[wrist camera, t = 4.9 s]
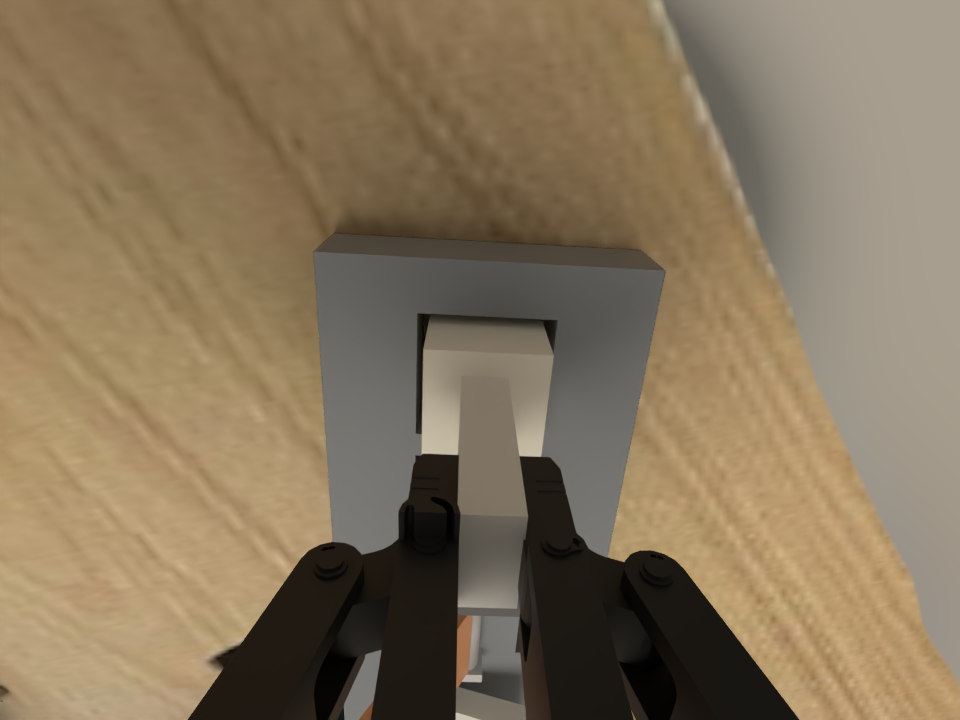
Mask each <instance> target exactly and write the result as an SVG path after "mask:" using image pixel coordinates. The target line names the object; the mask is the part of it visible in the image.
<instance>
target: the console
mask: <svg viewBox="0 0 960 720" xmlns="http://www.w3.org/2000/svg"><path fill="white" fill-rule="evenodd" d="M313 255H314V269H315V284H316V299H317V314H318V329H319V344H320V359H321V374H322V388H323V403H324V418H325V433H326V448H327V463H328V478H329V493H330V507H331V522H332V537H333V542H340V543H347V544H349V545H352V546H354V547H355V548H356V549H357V550H358V551H359V552H360V553H361V555H362V554H367V553H371V552H375V551H378V550H382V549H384V548H386V547H388V546H390V545H391V544H393V543H394V542H395V541H396V540H397V539H398V538H399V526H398V511H399V509H400V507H401V505H402V504H403V503H404V502H405V501H406V500H407V499H408V497H409V490H410V484H411V478H412V471H413V464H414V463H415V462H416V461H417V460H418V459H419V457H420V456H421V454H422V361H423V313H424V314H443V315H463V316H483V317H503V318H523V319H543V320H544V328H545V331H546V334H547V337H548V340H549V343H550V346H551V349H552V351H553V354H554V359H553V367H552V375H551V383H550V391H549V399H548V406H547V414H546V422H545V430H544V438H543V446H542V454H541V457H550V458H551V459H552V460H553V461H554V462H555V463H556V464H557V466H558V467H559V468H560V469H561V473H562V477H563V481H564V482H563V484H564V485H565V489H566V494H567V497H568V501H569V505H570V509H571V513H572V517H573V521H574V525H575V529H576V533H577V534H578V535H580V536H581V537H582V538H583V539H584V541H585V543H586V545H587V546H588V548H589V549H590V550H592V551H593V552H595V553H597V554H599V555H602V556H604V557H608V552H609V547H610V542H611V537H612V532H613V527H614V522H615V517H616V513H617V508H618V503H619V498H620V493H621V488H622V483H623V478H624V473H625V468H626V463H627V458H628V453H629V448H630V443H631V439H632V434H633V429H634V424H635V419H636V414H637V409H638V404H639V399H640V394H641V389H642V384H643V379H644V374H645V370H646V365H647V360H648V355H649V350H650V345H651V340H652V335H653V330H654V325H655V320H656V315H657V310H658V305H659V301H660V296H661V291H662V286H663V281H664V276H665V270H664V269H663V268H662V267H660V266H659V265H658V264H657V263H656V262H654V261H653V260H652V259H651V258H650V257H649V256H647V255H646V254H645V253H644V252H643V251H641V250H627V249H609V248H591V247H573V246H555V245H537V244H519V243H501V242H483V241H465V240H447V239H429V238H411V237H392V236H374V235H356V234H338V233H333V234H332V235H331V236H330V237H329V238H328V239H327V240H326V241H325V242H323V243H322V244H321V245H320V246H319V247H318V248H317V249H316V250H315V251H314V252H313ZM519 618H520V617H502V616H482V618H481V630H480V642H479V654H478V663H477V665H476V666H475V667H474V668H473V669H472V670H469V671H468V673H467V674H466V676H465V677H464V679H463V680H462V682H461V684H460V685H459V687H460V688H463V689H467V690H471V691H474V692H478V693H481V694H485V695H488V696H492V697H495V698H499V699H502V700H506V701H510V702H513V703H517V704H520V705H524V706H525V700H524V689H523V678H522V667H521V656H520V653H515V650H516V642H517V634H518V626H519ZM380 657H381V650H379V651H375V652H372V653H368V654H366V655H365V660H364V662H363V664H362V666H361V668H360V671H359V673H358V675H357V677H356V679H355V681H354V684H353V686H352V688H351V690H350V692H349V695H348V697H347V699H346V701H345V703H344V716H345V720H359V719H360V717H361V716H362V715H363V714H364V712H365V711H366V710H367V708H368V707H369V706H370V704H371V703H372V702H373V701H374V695H375V688H376V682H377V676H378V669H379V663H380ZM524 720H526V712H525V719H524Z"/></svg>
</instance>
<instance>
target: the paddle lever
mask: <svg viewBox="0 0 960 720" xmlns="http://www.w3.org/2000/svg"><path fill="white" fill-rule="evenodd" d="M481 618H482V616H468V615H458V621H457V674H456V690H457V688H458V687H459V685H460V684H461V682H462V680H463V679H464V677H465V676H466V674H467V673H468V671H469V670H472V669H473V668H474V667H475V666H476V665H477V663H478V654H479V642H480V630H481ZM372 708H373V702H372V703H371V704H370V706H369V707H368V708H367V710H366V711H365V712H364V714H363V715H362V716H361V717H360V719H359V720H371V714H372Z"/></svg>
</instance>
